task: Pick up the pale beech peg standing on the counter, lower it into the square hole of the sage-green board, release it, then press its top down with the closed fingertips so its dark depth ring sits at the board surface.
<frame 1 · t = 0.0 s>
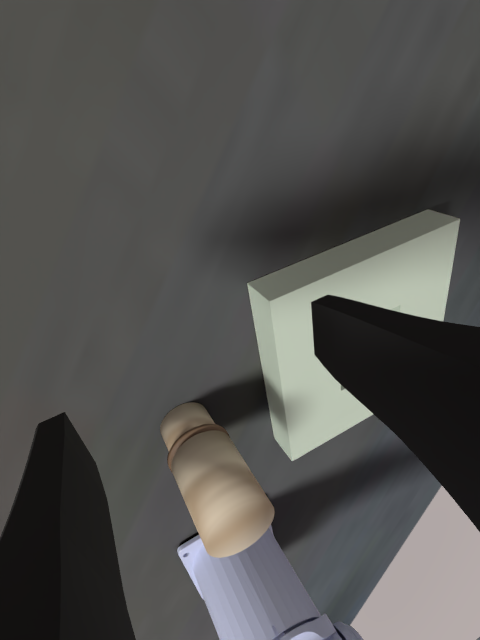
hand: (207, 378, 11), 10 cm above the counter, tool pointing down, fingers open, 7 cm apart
beech peg: (184, 422, 25), on the counter
sage board: (345, 331, 29), on the counter
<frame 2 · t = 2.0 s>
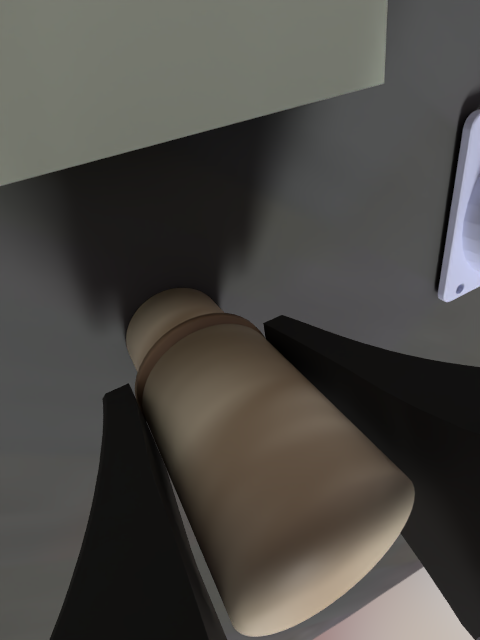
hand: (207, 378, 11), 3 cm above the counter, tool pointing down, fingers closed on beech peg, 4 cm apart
beech peg: (175, 333, 13), on the counter, touching gripper
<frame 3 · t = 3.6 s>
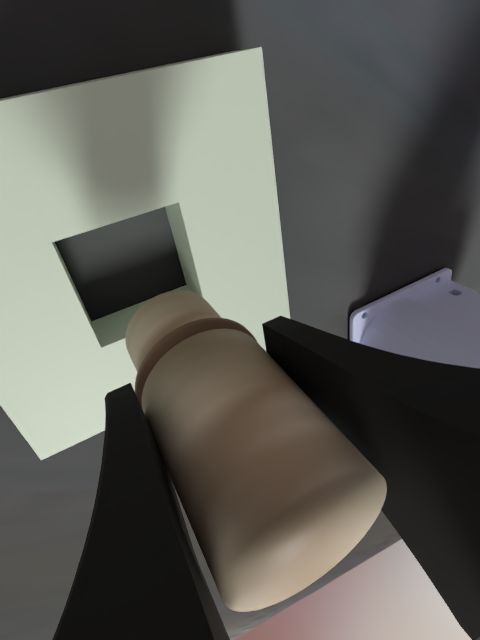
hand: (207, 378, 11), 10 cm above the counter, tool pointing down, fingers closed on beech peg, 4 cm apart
beech peg: (172, 332, 14), point 7 cm above the counter, touching gripper
sage board: (124, 257, 18), on the counter
when the fingers open (4 cm above the counter, at t = 5.5 s): beech peg stays where it is, resting in sage board.
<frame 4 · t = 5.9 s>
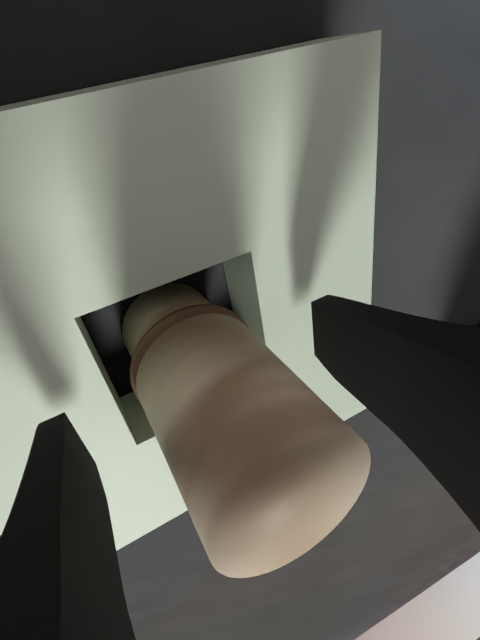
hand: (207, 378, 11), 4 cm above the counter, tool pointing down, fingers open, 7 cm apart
beech peg: (168, 325, 14), resting in sage board
sage board: (164, 316, 14), on the counter
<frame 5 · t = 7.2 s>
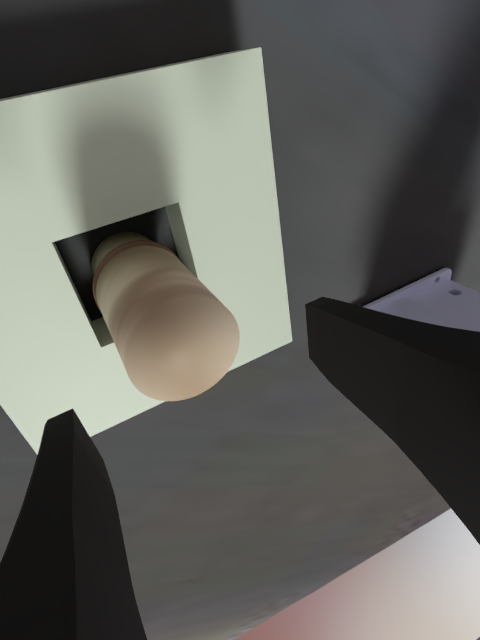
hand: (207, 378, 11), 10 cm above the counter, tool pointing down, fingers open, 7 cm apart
beech peg: (127, 264, 19), resting in sage board
sage board: (124, 257, 18), on the counter
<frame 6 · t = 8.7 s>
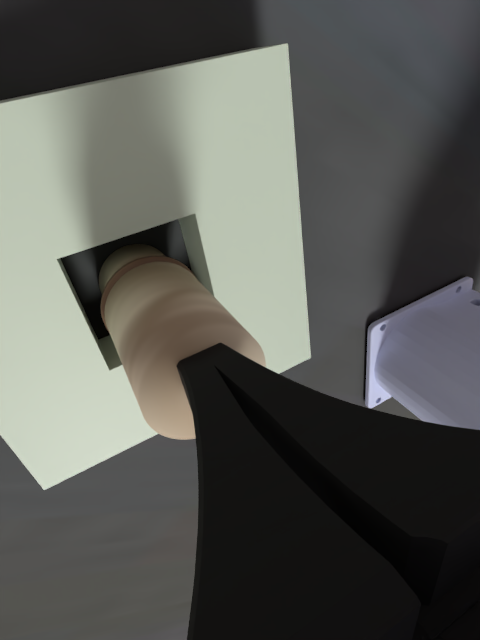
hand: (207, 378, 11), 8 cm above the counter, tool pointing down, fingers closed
beech peg: (136, 279, 17), resting in sage board
sage board: (134, 271, 17), on the counter
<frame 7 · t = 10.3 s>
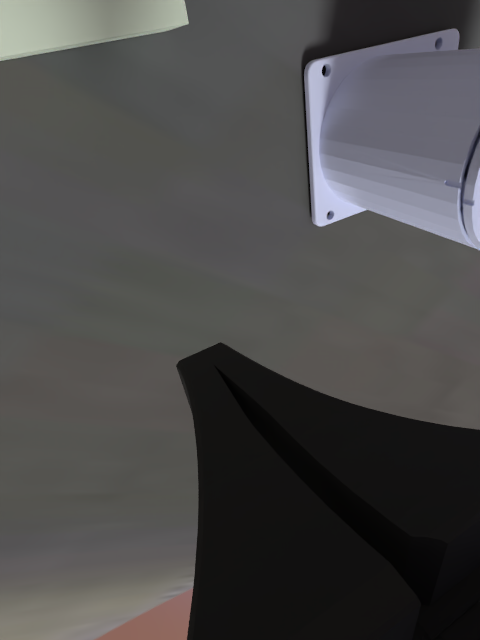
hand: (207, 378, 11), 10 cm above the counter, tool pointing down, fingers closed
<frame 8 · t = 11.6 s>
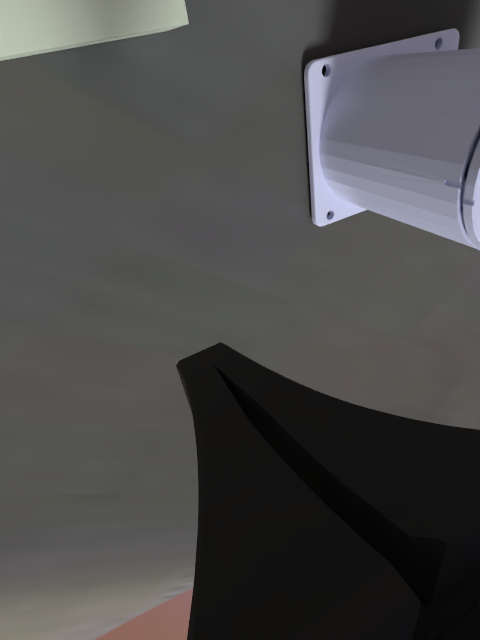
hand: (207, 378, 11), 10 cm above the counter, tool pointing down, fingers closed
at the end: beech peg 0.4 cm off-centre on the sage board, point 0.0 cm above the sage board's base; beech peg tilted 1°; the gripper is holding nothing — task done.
